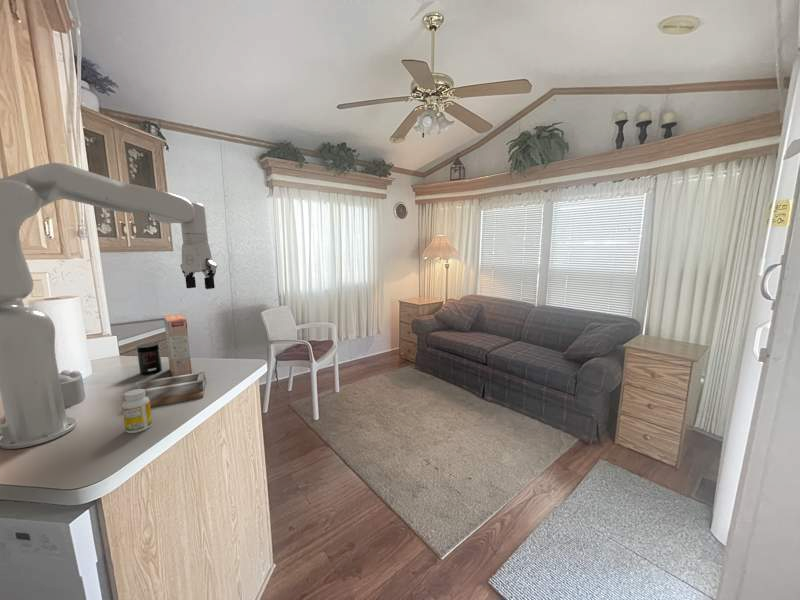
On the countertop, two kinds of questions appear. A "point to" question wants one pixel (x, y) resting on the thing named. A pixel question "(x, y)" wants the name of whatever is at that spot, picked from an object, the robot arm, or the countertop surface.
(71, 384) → the lumpy-topped squat cylinder
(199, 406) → the countertop surface
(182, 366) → the cracker box
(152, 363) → the supplement container
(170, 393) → the wooden tray
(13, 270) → the robot arm
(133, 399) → the supplement bottle
